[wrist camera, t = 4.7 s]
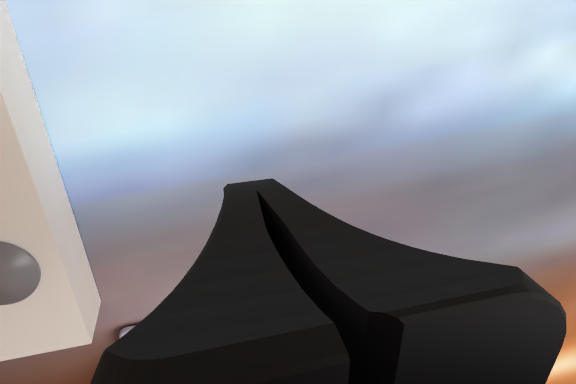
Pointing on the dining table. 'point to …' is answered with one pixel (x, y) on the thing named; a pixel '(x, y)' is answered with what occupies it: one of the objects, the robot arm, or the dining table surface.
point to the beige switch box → (36, 226)
